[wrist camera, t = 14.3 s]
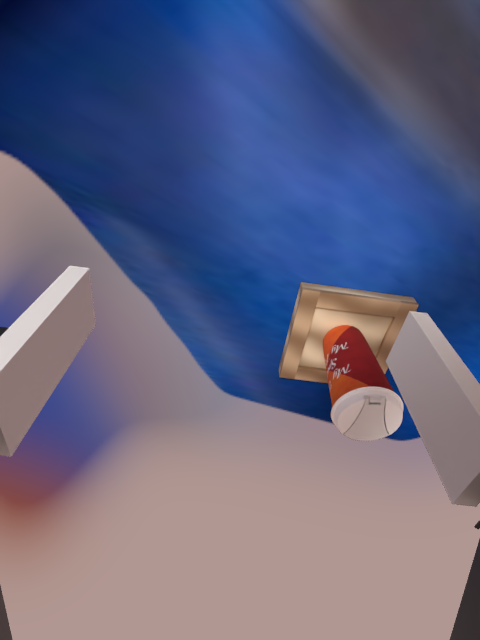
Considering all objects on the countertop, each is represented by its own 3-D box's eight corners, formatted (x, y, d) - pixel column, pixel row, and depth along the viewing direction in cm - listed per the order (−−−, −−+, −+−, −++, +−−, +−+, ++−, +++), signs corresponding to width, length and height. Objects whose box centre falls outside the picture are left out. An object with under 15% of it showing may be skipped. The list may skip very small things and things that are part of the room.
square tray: (301, 282, 50) (302, 289, 48) (413, 297, 50) (418, 305, 49) (278, 368, 58) (279, 377, 57) (374, 380, 59) (377, 389, 57)
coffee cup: (317, 318, 51) (338, 395, 39) (376, 318, 51) (416, 396, 38) (312, 362, 56) (328, 444, 43) (365, 363, 55) (398, 446, 43)
